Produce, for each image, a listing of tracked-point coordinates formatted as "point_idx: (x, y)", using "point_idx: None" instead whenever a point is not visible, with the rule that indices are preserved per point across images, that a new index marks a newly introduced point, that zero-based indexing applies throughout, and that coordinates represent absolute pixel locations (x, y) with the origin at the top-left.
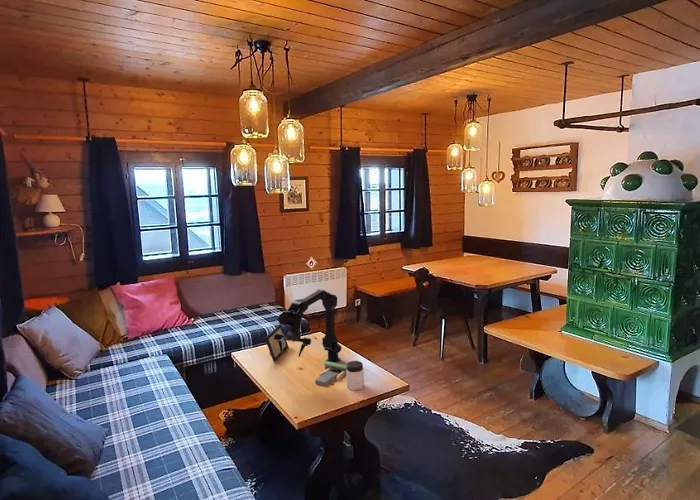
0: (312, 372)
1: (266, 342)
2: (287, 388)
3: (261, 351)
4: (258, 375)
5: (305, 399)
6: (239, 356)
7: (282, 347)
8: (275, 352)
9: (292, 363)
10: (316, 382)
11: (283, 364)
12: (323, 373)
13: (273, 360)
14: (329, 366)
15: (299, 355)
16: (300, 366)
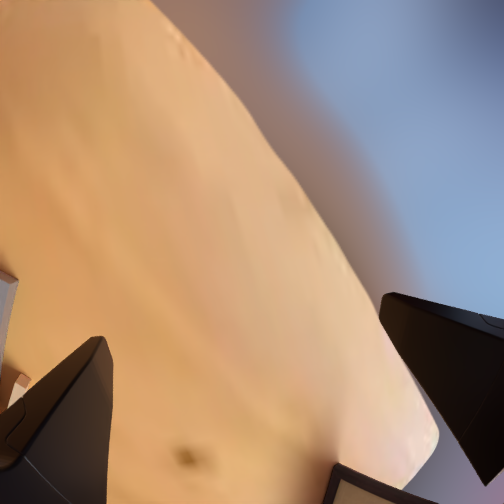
0: None
1: (419, 497)
2: (183, 196)
3: None
4: (374, 333)
5: (50, 75)
6: (433, 435)
7: (442, 375)
8: (350, 499)
9: (253, 485)
10: (8, 278)
11: (293, 464)
12: (10, 397)
13: (342, 466)
14: None
15: (83, 349)
16: (200, 475)
